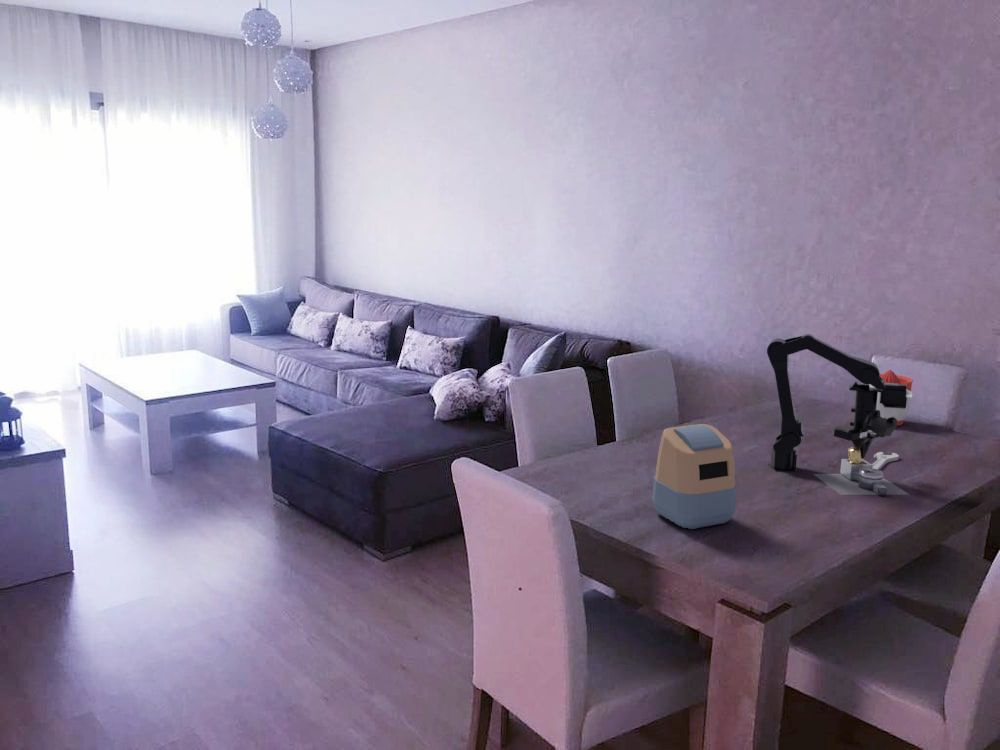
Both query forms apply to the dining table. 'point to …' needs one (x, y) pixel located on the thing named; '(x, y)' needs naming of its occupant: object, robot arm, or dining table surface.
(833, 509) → the dining table surface
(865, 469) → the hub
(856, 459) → the brass rounded cylinder
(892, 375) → the citrus juicer
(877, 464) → the adjustable wrench
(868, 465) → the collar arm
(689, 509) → the alarm clock
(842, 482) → the mat
